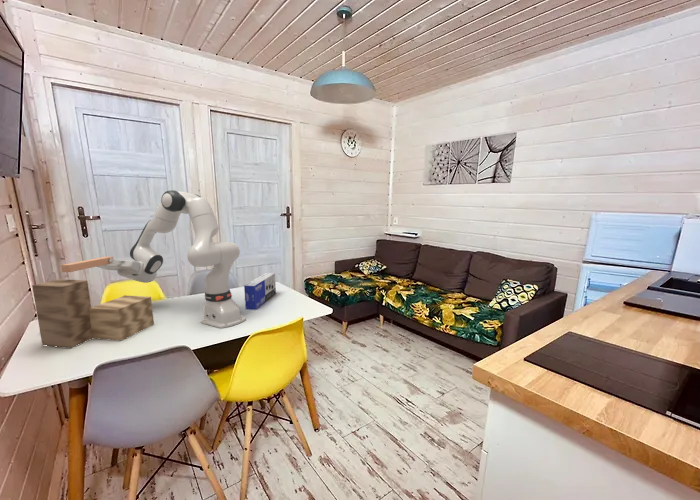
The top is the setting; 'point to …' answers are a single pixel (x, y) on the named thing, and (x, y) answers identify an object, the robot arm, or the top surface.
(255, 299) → the ink box
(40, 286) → the brown wooden stepped block
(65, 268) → the long slim case
